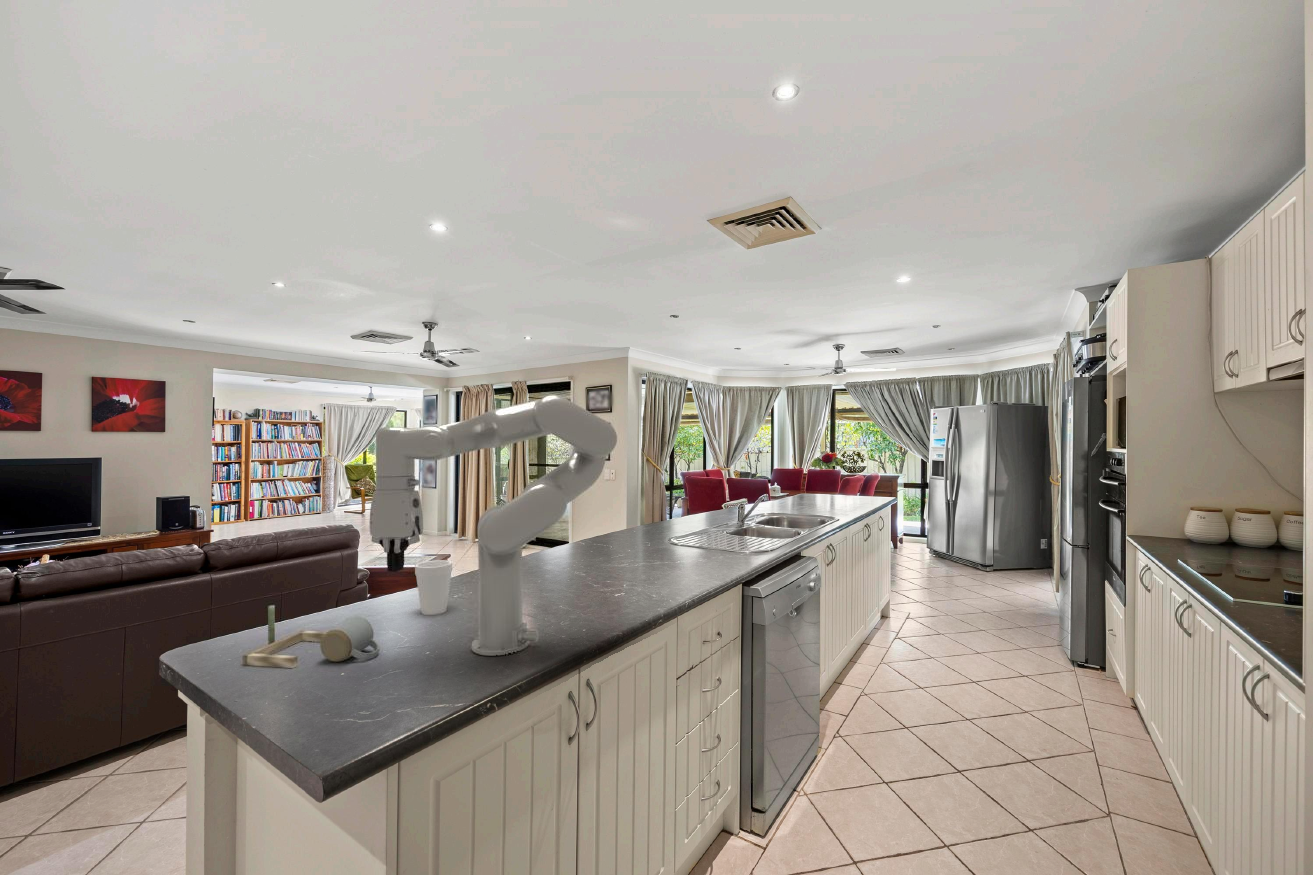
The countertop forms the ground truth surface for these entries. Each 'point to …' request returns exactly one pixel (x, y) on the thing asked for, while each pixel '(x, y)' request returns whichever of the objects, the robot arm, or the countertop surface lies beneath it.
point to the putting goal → (278, 646)
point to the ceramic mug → (349, 640)
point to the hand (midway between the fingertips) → (395, 570)
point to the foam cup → (433, 585)
